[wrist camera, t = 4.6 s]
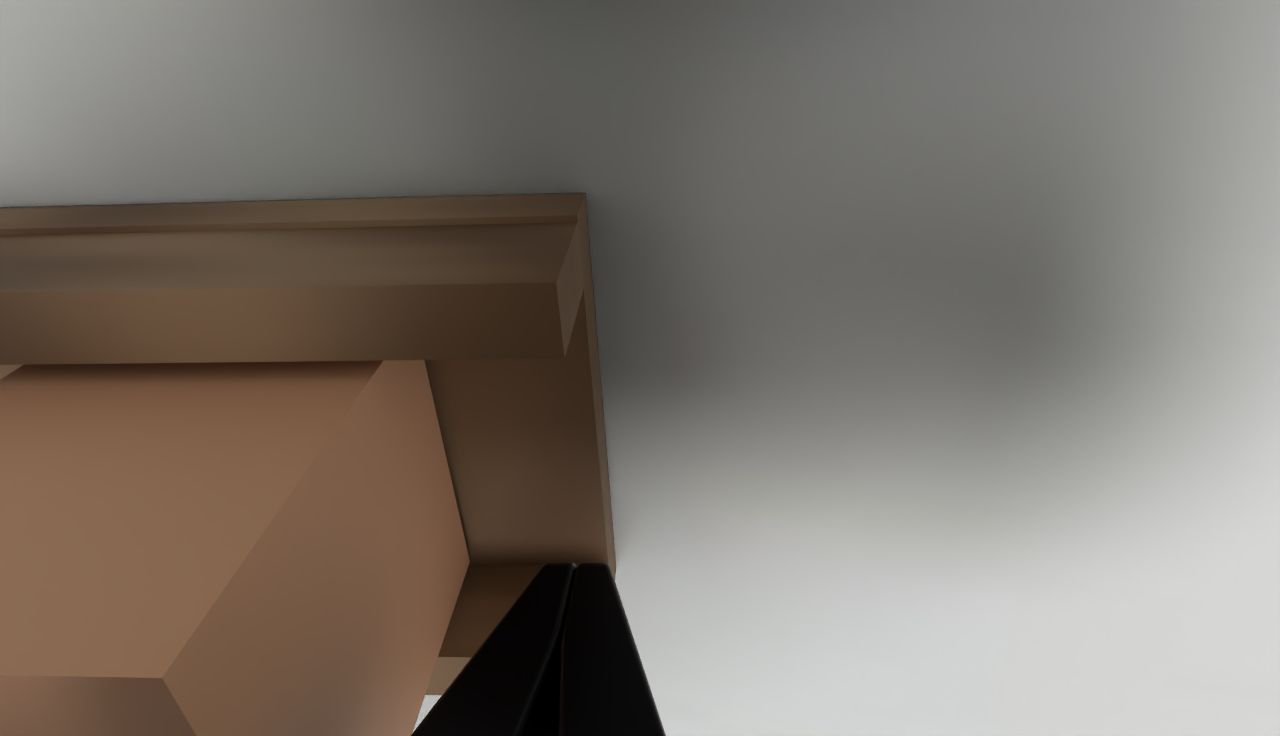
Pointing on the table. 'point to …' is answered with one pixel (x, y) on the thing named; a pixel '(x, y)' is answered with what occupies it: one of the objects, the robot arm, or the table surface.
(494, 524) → the chute
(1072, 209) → the table surface
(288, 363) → the block
